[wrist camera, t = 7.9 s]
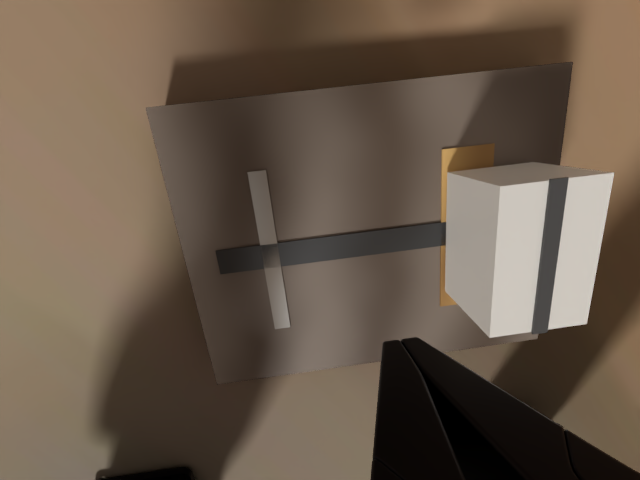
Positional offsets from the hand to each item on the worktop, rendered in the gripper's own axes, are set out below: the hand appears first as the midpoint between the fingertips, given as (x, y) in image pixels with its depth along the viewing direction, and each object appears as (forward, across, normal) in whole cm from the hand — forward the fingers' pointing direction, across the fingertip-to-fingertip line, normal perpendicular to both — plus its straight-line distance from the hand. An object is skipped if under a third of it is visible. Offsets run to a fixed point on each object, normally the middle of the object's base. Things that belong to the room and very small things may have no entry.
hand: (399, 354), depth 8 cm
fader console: (+10, -1, 0) cm, 10 cm away
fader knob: (+8, -7, 0) cm, 11 cm away
